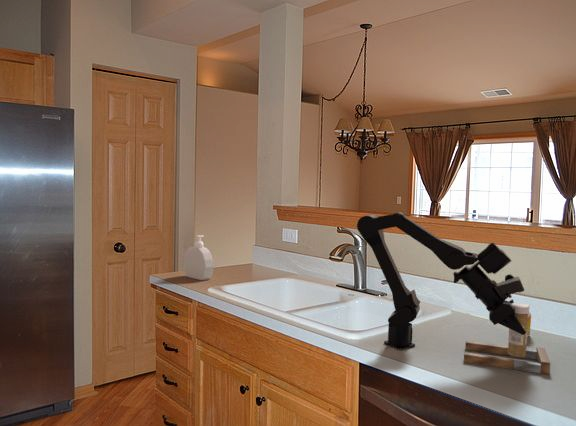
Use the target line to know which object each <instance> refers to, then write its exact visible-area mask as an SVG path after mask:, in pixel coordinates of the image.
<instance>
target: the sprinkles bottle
mask: <svg viewBox="0 0 576 426" xmlns="http://www.w3.org/2000/svg"><path fill="white" fill-rule="evenodd" d="M520 303H521V302H516V303H515V302H514V303H512V305H513V307H514V306H515V316H516V318H517V319H518V321H519V322H520V324H521V325H522V327H523V328H524V330H525V331H526V333H525V334H524V335H522V334H520V333H518V332H516V331H514V330H511V329H509V328H508V339H507V340H508V354H509V355H511V356H510V357H514V358H524V357H525V356H526V349H527V344H528V337H527V323H528V313H529V312H530V305H529V304H528V305H529V306H528V305H525V304H526V303H524V304H520ZM509 355H508V356H509Z"/></svg>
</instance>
